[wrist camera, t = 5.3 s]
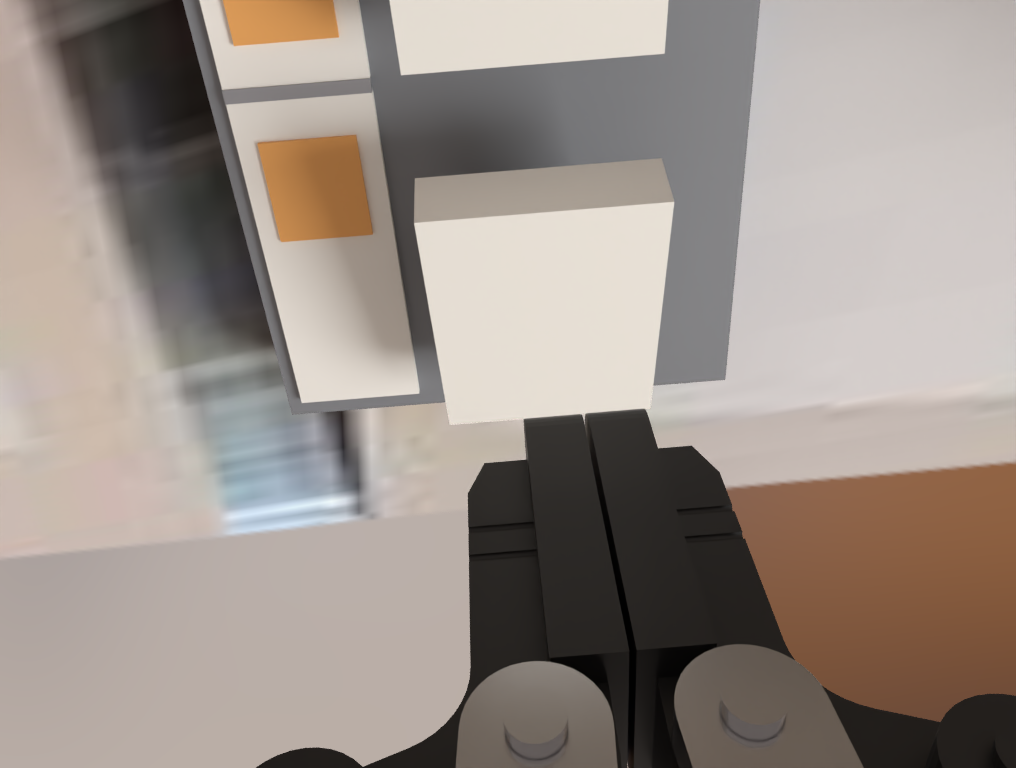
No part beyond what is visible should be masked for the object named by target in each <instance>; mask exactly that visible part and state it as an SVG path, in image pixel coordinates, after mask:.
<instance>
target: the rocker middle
mask: <svg viewBox="0 0 1016 768" xmlns="http://www.w3.org/2000/svg"><path fill="white" fill-rule="evenodd" d="M389 1H390V8H391V14H392V20H393V27H394V33H395V40H396V46H397V53H398V59H399V65H400V72H401V75H411V74H424V73H436V72H448V71H460V70H472V69H485V68H497V67H509V66H521V65H533V64H546V63H558V62H570V61H582V60H594V59H606V58H619V57H631V56H643V55H655V54H665V42H666V29H667V15H668V2H669V0H389Z"/></svg>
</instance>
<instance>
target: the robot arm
mask: <svg viewBox="0 0 1016 768" xmlns="http://www.w3.org/2000/svg"><path fill="white" fill-rule="evenodd" d="M524 434H525V448H526V460H518V461H506V462H494V463H485V464H484V465H483V467H482V469H481V471H480V473H479V474H478V476H477V478H476V480H475V482H474V484H473V485H472V487H471V489H470V491H469V493H468V527H469V588H470V650H471V651H470V653H471V669H470V680H469V684H468V688H467V691H466V693H465V696H464V698H463V700H462V702H461V704H460V705H459V707H458V709H457V710H456V712H455V713H454V715H453V716H452V717H451V718H450V719H449V720H448V721H447V723H446V724H445V725H444V726H442V727H441V728H440V729H439V730H438V731H437V732H436V733H434V734H433V735H431V736H430V737H428V738H427V739H425V740H424V741H422V742H420V743H418V744H417V745H414V746H412V747H410V748H408V749H406V750H403V751H401V752H398V753H396V754H393V755H391V756H388V757H386V758H384V759H381V760H379V761H376V762H374V763H371V764H369V765H367V766H364V767H362V766H361V765H360V764H359V763H358V762H356V761H355V760H354V759H353V758H350V757H349V756H347V755H345V754H344V753H341V752H338V751H335V750H332V749H325V748H303V749H298V750H292V751H289V752H286V753H283V754H280V755H277V756H275V757H273V758H271V759H269V760H268V761H265V762H264V763H262V764H261V765H259V766H258V767H256V768H627V762H628V767H629V768H1016V696H1012V695H1005V694H985V695H977V696H974V697H971V698H968V699H965V700H963V701H961V702H959V703H957V704H956V705H954V706H953V707H952V708H951V709H950V710H949V711H948V712H947V713H946V714H945V716H944V718H943V719H942V721H941V722H936V721H932V720H927V719H922V718H917V717H912V716H908V715H903V714H898V713H893V712H888V711H883V710H878V709H874V708H870V707H867V706H863V705H859V704H856V703H854V702H852V701H849V700H846V699H844V698H842V697H840V696H838V695H836V694H834V693H832V692H831V691H829V690H827V689H826V688H824V687H823V686H822V685H821V684H820V683H819V682H818V681H817V680H816V678H815V677H814V676H813V675H812V674H811V673H810V672H809V671H808V670H807V669H805V668H804V667H803V666H802V665H801V664H799V663H797V662H796V661H795V660H794V658H793V657H792V655H791V654H790V652H789V651H788V648H787V646H786V645H785V642H784V640H783V637H782V635H781V632H780V630H779V627H778V624H777V622H776V619H775V616H774V614H773V611H772V609H771V606H770V603H769V601H768V598H767V595H766V593H765V590H764V588H763V585H762V582H761V580H760V577H759V575H758V572H757V569H756V567H755V564H754V561H753V559H752V556H751V554H750V551H749V548H748V546H747V543H746V540H745V539H743V537H742V530H741V527H740V525H739V522H738V520H737V517H736V514H735V512H734V511H732V504H731V501H730V499H729V496H728V493H727V491H726V488H725V485H724V483H723V480H722V478H721V475H720V472H719V471H718V470H717V469H715V468H714V467H713V466H712V465H711V464H710V463H709V462H708V461H707V460H706V459H705V458H704V457H703V456H702V455H701V454H700V453H699V452H698V451H697V450H696V449H695V448H693V447H692V446H683V447H671V448H659V449H658V447H657V444H656V441H655V437H654V434H653V431H652V427H651V424H650V421H649V417H648V415H647V412H646V410H645V409H631V410H619V411H607V412H595V413H586V415H585V425H584V421H583V417H582V414H574V415H562V416H550V417H538V418H526V419H524Z"/></svg>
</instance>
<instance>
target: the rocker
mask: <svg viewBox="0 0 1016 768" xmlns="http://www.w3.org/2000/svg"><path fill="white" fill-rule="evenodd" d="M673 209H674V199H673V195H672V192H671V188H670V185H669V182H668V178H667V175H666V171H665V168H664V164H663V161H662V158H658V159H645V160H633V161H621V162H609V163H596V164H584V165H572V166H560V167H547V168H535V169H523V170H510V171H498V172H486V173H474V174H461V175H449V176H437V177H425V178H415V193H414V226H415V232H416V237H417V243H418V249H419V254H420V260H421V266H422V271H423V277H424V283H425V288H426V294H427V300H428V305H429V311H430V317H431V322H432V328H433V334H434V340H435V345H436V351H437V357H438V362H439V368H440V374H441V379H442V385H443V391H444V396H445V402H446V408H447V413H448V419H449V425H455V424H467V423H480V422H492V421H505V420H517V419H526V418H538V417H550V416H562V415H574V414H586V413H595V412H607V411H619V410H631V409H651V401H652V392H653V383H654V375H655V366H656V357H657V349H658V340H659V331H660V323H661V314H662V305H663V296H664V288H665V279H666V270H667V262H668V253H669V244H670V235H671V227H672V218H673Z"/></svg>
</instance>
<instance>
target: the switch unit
mask: <svg viewBox="0 0 1016 768" xmlns="http://www.w3.org/2000/svg"><path fill="white" fill-rule="evenodd" d="M183 4H184V8H185V12H186V15H187V19H188V23H189V27H190V30H191V34H192V38H193V42H194V46H195V49H196V53H197V57H198V61H199V64H200V68H201V72H202V76H203V80H204V83H205V87H206V91H207V95H208V98H209V102H210V106H211V110H212V114H213V117H214V121H215V125H216V129H217V132H218V136H219V140H220V144H221V148H222V151H223V155H224V159H225V163H226V166H227V170H228V174H229V178H230V182H231V185H232V189H233V193H234V197H235V200H236V204H237V208H238V212H239V216H240V219H241V223H242V227H243V231H244V234H245V238H246V242H247V246H248V250H249V253H250V257H251V261H252V265H253V268H254V272H255V276H256V280H257V284H258V287H259V291H260V295H261V299H262V302H263V306H264V310H265V314H266V318H267V321H268V325H269V329H270V333H271V336H272V340H273V344H274V348H275V352H276V355H277V359H278V363H279V367H280V370H281V374H282V378H283V382H284V386H285V389H286V393H287V397H288V401H289V404H290V408H291V412H292V415H293V414H305V413H318V412H330V411H342V410H355V409H367V408H380V407H392V406H405V405H417V404H429V403H442V402H445V396H444V391H443V385H442V379H441V374H440V368H439V362H438V357H437V351H436V345H435V340H434V334H433V328H432V322H431V317H430V311H429V305H428V300H427V294H426V288H425V283H424V277H423V271H422V266H421V260H420V254H419V249H418V243H417V237H416V232H415V226H414V193H415V178H425V177H437V176H449V175H461V174H474V173H486V172H498V171H510V170H523V169H535V168H547V167H560V166H572V165H584V164H596V163H609V162H621V161H633V160H645V159H658V158H662V161H663V164H664V168H665V171H666V175H667V178H668V182H669V185H670V188H671V192H672V195H673V199H674V209H673V218H672V227H671V235H670V244H669V253H668V262H667V270H666V279H665V288H664V296H663V305H662V314H661V323H660V331H659V340H658V349H657V357H656V366H655V375H654V383H653V385H666V384H678V383H690V382H703V381H715V380H725V376H726V365H727V355H728V344H729V333H730V322H731V311H732V300H733V289H734V278H735V268H736V257H737V246H738V235H739V224H740V213H741V202H742V192H743V181H744V170H745V159H746V148H747V137H748V126H749V115H750V105H751V94H752V83H753V72H754V61H755V50H756V39H757V29H758V18H759V7H760V0H669V2H668V15H667V29H666V42H665V54H655V55H643V56H631V57H619V58H606V59H594V60H582V61H570V62H558V63H546V64H533V65H521V66H509V67H497V68H485V69H472V70H460V71H448V72H436V73H424V74H411V75H401V72H400V65H399V59H398V53H397V46H396V40H395V33H394V27H393V20H392V14H391V8H390V1H389V0H183Z"/></svg>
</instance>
